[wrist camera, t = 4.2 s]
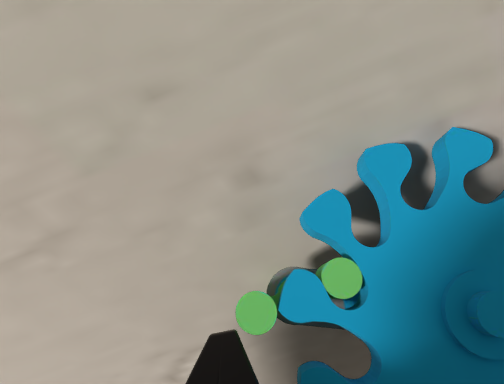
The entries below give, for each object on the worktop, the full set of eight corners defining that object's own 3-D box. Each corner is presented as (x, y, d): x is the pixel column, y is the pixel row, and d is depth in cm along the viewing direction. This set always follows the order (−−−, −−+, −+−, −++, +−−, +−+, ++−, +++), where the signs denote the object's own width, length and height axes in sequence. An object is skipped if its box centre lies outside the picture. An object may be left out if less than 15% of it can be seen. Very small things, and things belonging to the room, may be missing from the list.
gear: (678, 130, 9) (815, 632, 6) (519, 194, 15) (555, 475, 12) (254, 102, 10) (208, 549, 7) (257, 174, 16) (233, 437, 13)
